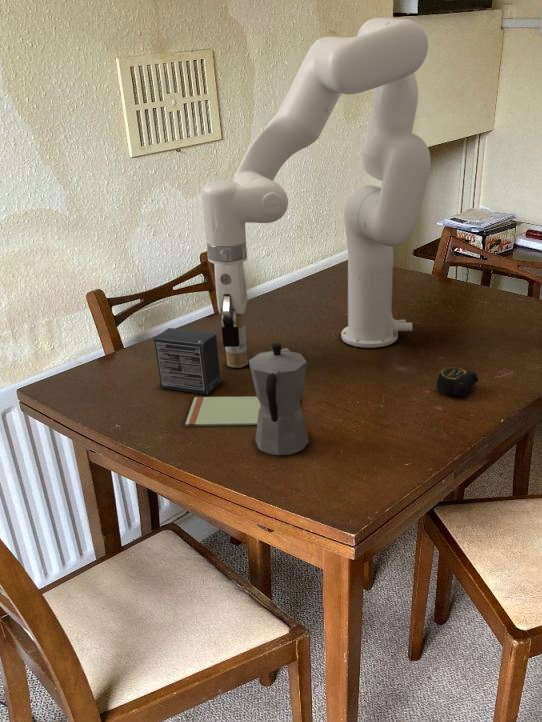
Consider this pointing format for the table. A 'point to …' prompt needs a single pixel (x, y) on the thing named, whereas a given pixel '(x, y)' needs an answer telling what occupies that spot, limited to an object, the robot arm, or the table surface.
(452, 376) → the tape measure
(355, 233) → the robot arm
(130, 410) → the table surface
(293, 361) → the coffeepot
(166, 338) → the small box
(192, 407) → the notebook
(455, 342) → the table surface
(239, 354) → the sprinkles bottle
